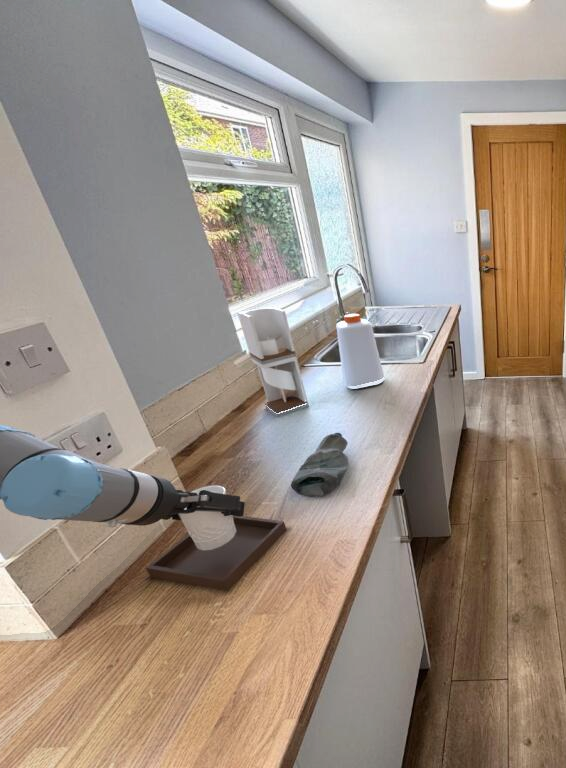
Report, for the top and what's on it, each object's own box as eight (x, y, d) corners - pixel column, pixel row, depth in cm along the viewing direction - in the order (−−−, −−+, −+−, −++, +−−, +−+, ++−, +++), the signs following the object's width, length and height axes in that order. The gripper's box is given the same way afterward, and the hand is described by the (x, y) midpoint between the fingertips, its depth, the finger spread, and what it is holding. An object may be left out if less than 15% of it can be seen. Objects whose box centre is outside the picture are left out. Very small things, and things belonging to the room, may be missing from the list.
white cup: (201, 529, 84) (185, 490, 80) (244, 520, 86) (230, 481, 82) (186, 557, 77) (167, 516, 73) (233, 547, 79) (217, 506, 75)
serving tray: (150, 577, 77) (145, 567, 76) (219, 521, 91) (215, 512, 90) (227, 590, 74) (223, 581, 73) (286, 530, 88) (284, 521, 87)
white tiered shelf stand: (265, 407, 146) (237, 312, 132) (296, 398, 153) (272, 306, 140) (277, 416, 139) (248, 317, 125) (308, 406, 146) (284, 310, 132)
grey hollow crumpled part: (341, 498, 97) (365, 442, 120) (333, 474, 94) (358, 421, 117) (286, 506, 97) (320, 449, 119) (276, 483, 94) (313, 428, 116)
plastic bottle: (347, 392, 156) (333, 322, 145) (342, 380, 169) (328, 314, 158) (387, 384, 163) (376, 316, 152) (379, 373, 175) (368, 309, 164)
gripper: (49, 533, 59) (160, 538, 80) (203, 515, 62) (271, 524, 83) (64, 482, 62) (167, 499, 83) (210, 466, 65) (274, 487, 85)
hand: (219, 511), depth 83 cm, fingers closed on white cup, 8 cm apart
